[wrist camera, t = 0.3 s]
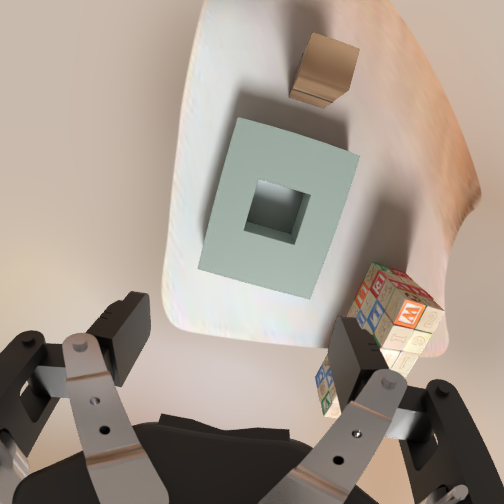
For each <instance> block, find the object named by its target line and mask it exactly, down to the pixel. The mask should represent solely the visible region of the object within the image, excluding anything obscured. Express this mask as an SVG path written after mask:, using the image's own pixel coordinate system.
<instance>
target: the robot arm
mask: <svg viewBox="0 0 504 504" xmlns="http://www.w3.org/2000/svg"><path fill="white" fill-rule="evenodd" d="M149 302H150V301H149V295H148V294H147V293H140V292H134V291H131V292H130V293H129V294H128V295H127V296H126V297H125V299H124V300H123V301H121V300H118V301H116V302H114V303H112V304H111V305H109V306H108V307H107V309H106V310H105V311H104V313H102V314H101V316H100V318H98V319H97V320H96V321H95V322H94V324H93V325H92V326H91V327H90V328H89V329H88V330H87V332H86V333H77V334H73V335H71V336H69V337H67V338H66V339H65V340H64V342H63V344H49V343H46V342H45V338H44V336H43V334H42V333H40V332H38V331H32V330H31V331H25V332H22V333H20V334H19V335H17V336H16V337H15V338H14V339H13V340H12V342H10V343H9V344H8V346H7V347H6V348H5V349H4V350H3V351H2V352H1V353H0V504H379V503H378V502H376V501H375V500H374V499H373V498H371V497H370V496H369V495H368V494H367V493H365V492H364V491H363V490H362V489H361V488H359V487H358V486H357V485H356V483H357V481H358V480H359V478H360V477H361V475H362V473H363V472H364V470H365V468H366V467H367V465H368V464H369V462H370V460H371V458H372V457H373V455H374V454H375V452H376V450H377V448H378V446H379V445H380V443H381V441H382V439H383V437H389V438H395V439H398V440H399V443H400V447H401V450H402V454H403V458H404V461H405V465H406V469H407V473H408V476H409V481H410V484H411V489H412V493H413V497H414V502H415V504H504V487H503V484H502V481H501V479H500V477H499V474H498V472H497V470H496V467H495V465H494V463H493V460H492V458H491V456H490V454H489V452H488V450H487V447H486V445H485V443H484V441H483V439H482V437H481V435H480V433H479V431H478V429H477V427H476V425H475V423H474V421H473V419H472V417H471V415H470V413H469V412H468V409H467V408H466V406H465V404H464V402H463V400H462V398H461V397H460V395H459V393H458V391H457V389H456V388H455V387H454V386H453V385H452V384H451V383H449V382H447V381H444V380H439V379H436V380H432V381H430V382H429V383H428V385H427V387H426V389H423V388H417V387H412V386H408V385H407V381H406V379H405V378H404V377H403V376H402V375H401V374H400V373H398V372H396V371H393V370H390V369H389V367H388V365H387V362H386V360H385V358H384V356H383V354H382V352H381V351H380V348H379V346H378V345H377V342H376V340H375V338H374V336H373V335H372V334H370V333H369V332H368V331H367V330H366V329H361V327H360V325H359V323H358V321H357V319H356V318H355V317H342V316H338V317H337V319H336V322H335V326H334V330H333V333H332V337H331V340H330V344H329V348H328V361H329V365H330V369H331V373H332V377H333V381H334V385H335V389H336V393H337V397H338V402H339V406H340V410H341V415H340V416H339V418H338V419H337V420H336V421H335V423H334V424H333V425H332V427H331V428H330V429H329V430H328V431H327V433H326V434H325V435H324V436H323V438H322V439H321V440H320V441H319V442H318V444H317V445H316V446H315V447H314V448H312V447H311V446H309V445H307V444H305V443H302V442H300V441H297V440H294V439H290V434H289V429H288V430H287V429H270V428H249V429H239V430H221V429H218V428H215V427H211V426H209V425H206V424H203V423H201V422H198V421H195V420H193V419H187V418H181V417H177V416H171V415H166V414H161V416H160V419H159V422H147V423H142V424H137V425H134V426H132V425H131V423H130V421H129V419H128V416H127V414H126V412H125V409H124V407H123V405H122V402H121V400H120V397H119V395H118V392H117V390H116V387H115V386H118V387H122V385H123V384H124V382H125V380H126V378H127V376H128V374H129V372H130V371H131V369H132V367H133V365H134V363H135V361H136V360H137V358H138V356H139V354H140V352H141V351H142V349H143V347H144V345H145V343H146V342H147V340H148V338H149V335H150V330H151V319H150V303H149ZM26 381H28V384H29V385H28V386H27V387H26V389H25V390H24V392H23V393H22V394H21V396H20V391H21V388H22V387H23V385H24V384H25V382H26ZM60 398H70V403H71V407H72V411H73V416H74V420H75V424H76V427H77V431H78V435H79V438H80V442H81V445H82V448H83V451H81V452H79V453H76V454H74V455H73V456H70V457H68V458H66V459H64V460H61V461H59V462H57V463H55V464H53V465H50V466H48V467H45V468H43V469H41V470H38V471H36V472H34V473H32V474H30V475H28V474H29V469H30V467H29V462H28V460H27V457H28V455H29V453H30V451H31V449H32V447H33V445H34V444H35V442H36V440H37V438H38V436H39V434H40V433H41V430H42V429H43V427H44V425H45V424H46V422H47V420H48V418H49V416H50V415H51V413H52V411H53V410H54V408H55V406H56V404H57V403H58V401H59V399H60ZM434 433H435V434H436V437H437V440H438V445H437V442H436V439H435V437H434Z"/></svg>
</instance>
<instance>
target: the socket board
mask: <svg viewBox="0 0 504 504" xmlns="http://www.w3.org/2000/svg"><path fill="white" fill-rule="evenodd" d="M359 158H360V156H359V155H357V154H354V153H351V152H349V151H346V150H343V149H341V148H338V147H335V146H332V145H329V144H327V143H324V142H321V141H318V140H315V139H312V138H309V137H306V136H303V135H300V134H296V133H293V132H290V131H287V130H283V129H280V128H277V127H273V126H270V125H266V124H263V123H259V122H255V121H251V120H248V119H244V118H240V117H238V118H237V122H236V125H235V128H234V132H233V135H232V139H231V142H230V146H229V149H228V153H227V156H226V160H225V163H224V167H223V171H222V174H221V178H220V182H219V185H218V189H217V193H216V197H215V201H214V204H213V208H212V212H211V216H210V220H209V224H208V228H207V232H206V236H205V240H204V244H203V248H202V253H201V257H200V261H199V265H198V269H200V270H203V271H207V272H210V273H214V274H217V275H221V276H224V277H228V278H232V279H235V280H239V281H242V282H246V283H250V284H253V285H257V286H261V287H264V288H268V289H272V290H275V291H279V292H283V293H287V294H291V295H294V296H298V297H302V298H306V299H310V298H311V295H312V293H313V290H314V287H315V285H316V282H317V280H318V277H319V275H320V272H321V269H322V267H323V264H324V261H325V259H326V256H327V253H328V250H329V248H330V245H331V242H332V239H333V237H334V234H335V231H336V228H337V225H338V222H339V220H340V217H341V214H342V211H343V208H344V205H345V202H346V199H347V196H348V193H349V190H350V187H351V183H352V180H353V177H354V174H355V171H356V168H357V164H358V161H359ZM258 179H260V180H263V181H267V182H270V183H274V184H277V185H280V186H284V187H287V188H290V189H294V190H297V191H300V192H303V193H304V195H303V198H302V201H301V204H300V207H299V210H298V214H297V217H296V220H295V223H294V226H293V229H292V232H291V234H289V233H286V232H282V231H279V230H275V229H272V228H268V227H265V226H261V225H258V224H255V223H251V222H247V221H246V220H247V217H248V213H249V210H250V206H251V203H252V200H253V196H254V193H255V189H256V186H257V182H258Z"/></svg>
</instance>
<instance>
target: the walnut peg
mask: <svg viewBox="0 0 504 504" xmlns="http://www.w3.org/2000/svg"><path fill="white" fill-rule="evenodd" d="M359 50H360V49H359V48H356V47H353V46H351V45H348V44H346V43H343V42H340V41H338V40H335V39H332V38H329V37H326V36H323V35H320V34H317V33H314V32H312V34H311V37H310V39H309V42H308V44H307V46H306V49H305V51H304V53H303V55H302V58H301V61H300V63H299V66H298V69H297V72H296V76H295V79H294V82H293V85H292V89H291V92H290V95H289V98H293V99H296V100H299V101H302V102H306V103H309V104H312V105H315V106H318V107H321V108H325V107H326V106H328V105H329V104H330V103H333V101H334V100H336V99H337V98H339V97H340V96H341V95H343V94H344V93H345V92H347V91H348V90H349V88H350V84H351V81H352V77H353V73H354V69H355V66H356V62H357V58H358V54H359Z"/></svg>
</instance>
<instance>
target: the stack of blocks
mask: <svg viewBox="0 0 504 504" xmlns="http://www.w3.org/2000/svg"><path fill="white" fill-rule="evenodd" d="M444 312H445V311H444V310H443V309H442V308H441V307H440V306H439V305H438V304H437V303H436V302H435V301H433V298H432V297H431V296H430V295H429V294H428V293H427V292H426V291H425V290H423V289H422V288H421V287H420V286H419V285H418V284H416V283H415V282H414V281H413V280H412V279H411V278H410V277H409V276H408V275H407V274H406V273H403V272H400V271H397V270H394V269H392V268H388V267H385V266H382V265H379V264H376V263H374V262H372V263H371V265H370V268H369V270H368V272H367V274H366V277H365V279H364V281H363V282H362V284H361V286H360V288H359V291H358V293H357V295H356V297H355V300H354V301H353V303H352V305H351V308H350V310H349V312H348V314H347V316H346V317H355V318H356V319H357V321H358V323H359V325H360V327H361V329H366V330H367V331H368V332H369V333H370V334H372V335H373V336H374V338H375V340H376V342H377V345H378V346H379V348H380V351H381V352H382V354H383V356H384V358H385V360H386V362H387V365H388V367H389V369H390V370H393V371H396V372H398V373H400V374H401V375H402V376H403V377H404V378H406V376H407V375H408V373H409V371H410V370H411V368H412V366H413V365H414V363H415V362H416V360H417V358H418V357H419V354H421V352H422V351H423V349H424V347H425V346H426V344H427V342H428V340H429V339H430V337H431V335H432V333H433V332H434V331H435V329H436V327H437V325H438V323H439V322H440V320H441V318H442V316H443V314H444ZM315 379H316V384H317V389H318V395H319V400H320V402H321V405H322V411H323V415H324V417H331V418H339V416H340V415H341V410H340V406H339V402H338V397H337V393H336V389H335V385H334V381H333V377H332V373H331V369H330V365H329V361H328V354H327V356H326V358H325V360H324V362H323V364H322V366H321V367H320V369H319V371H318V373H317V375H316V377H315Z"/></svg>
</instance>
